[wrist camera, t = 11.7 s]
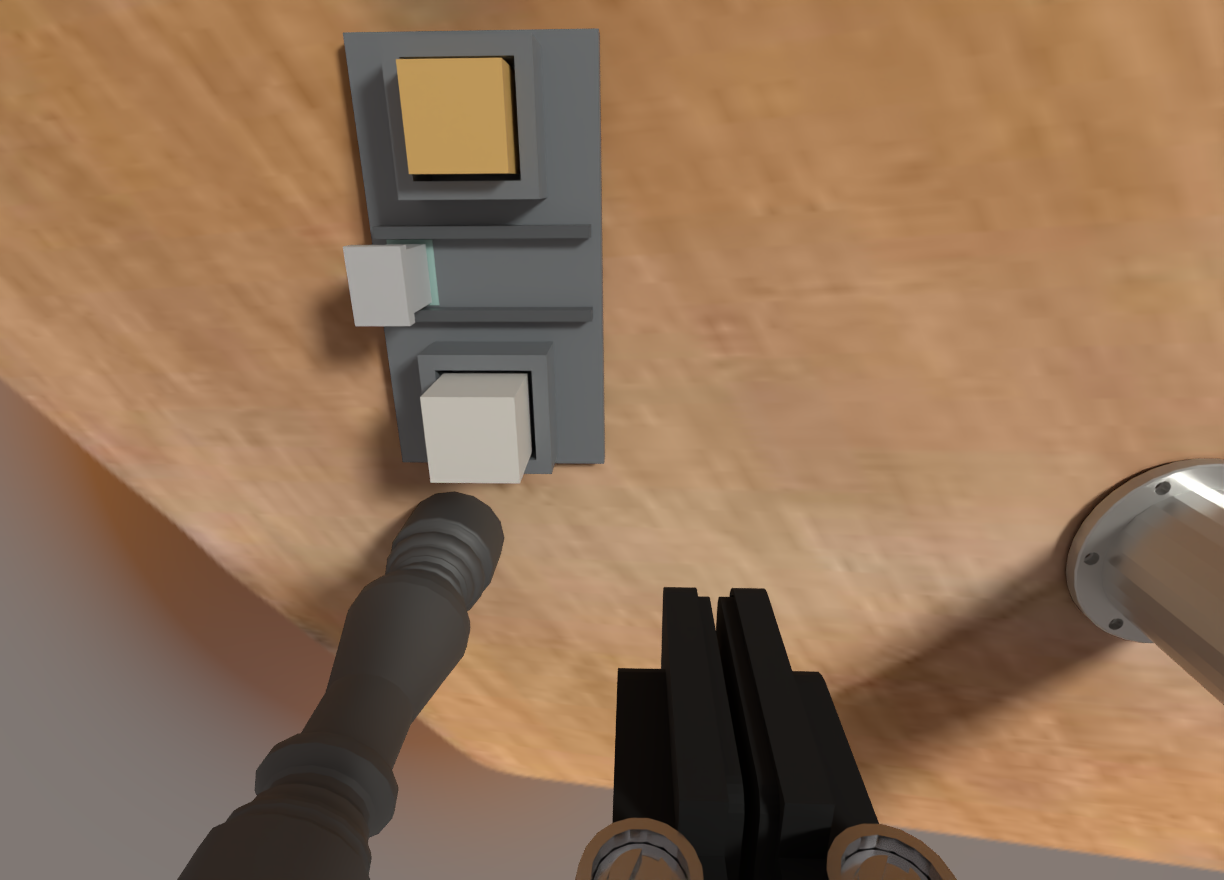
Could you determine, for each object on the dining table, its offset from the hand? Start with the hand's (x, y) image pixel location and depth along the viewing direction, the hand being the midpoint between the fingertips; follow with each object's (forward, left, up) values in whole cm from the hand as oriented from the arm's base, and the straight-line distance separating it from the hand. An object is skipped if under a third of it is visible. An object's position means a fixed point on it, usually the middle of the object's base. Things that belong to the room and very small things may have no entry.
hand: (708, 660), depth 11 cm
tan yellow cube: (+9, -10, -26) cm, 29 cm away
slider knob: (+13, -3, -26) cm, 29 cm away
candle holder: (+13, +14, -27) cm, 33 cm away
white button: (+9, +4, -24) cm, 26 cm away
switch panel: (+9, -3, -27) cm, 29 cm away
